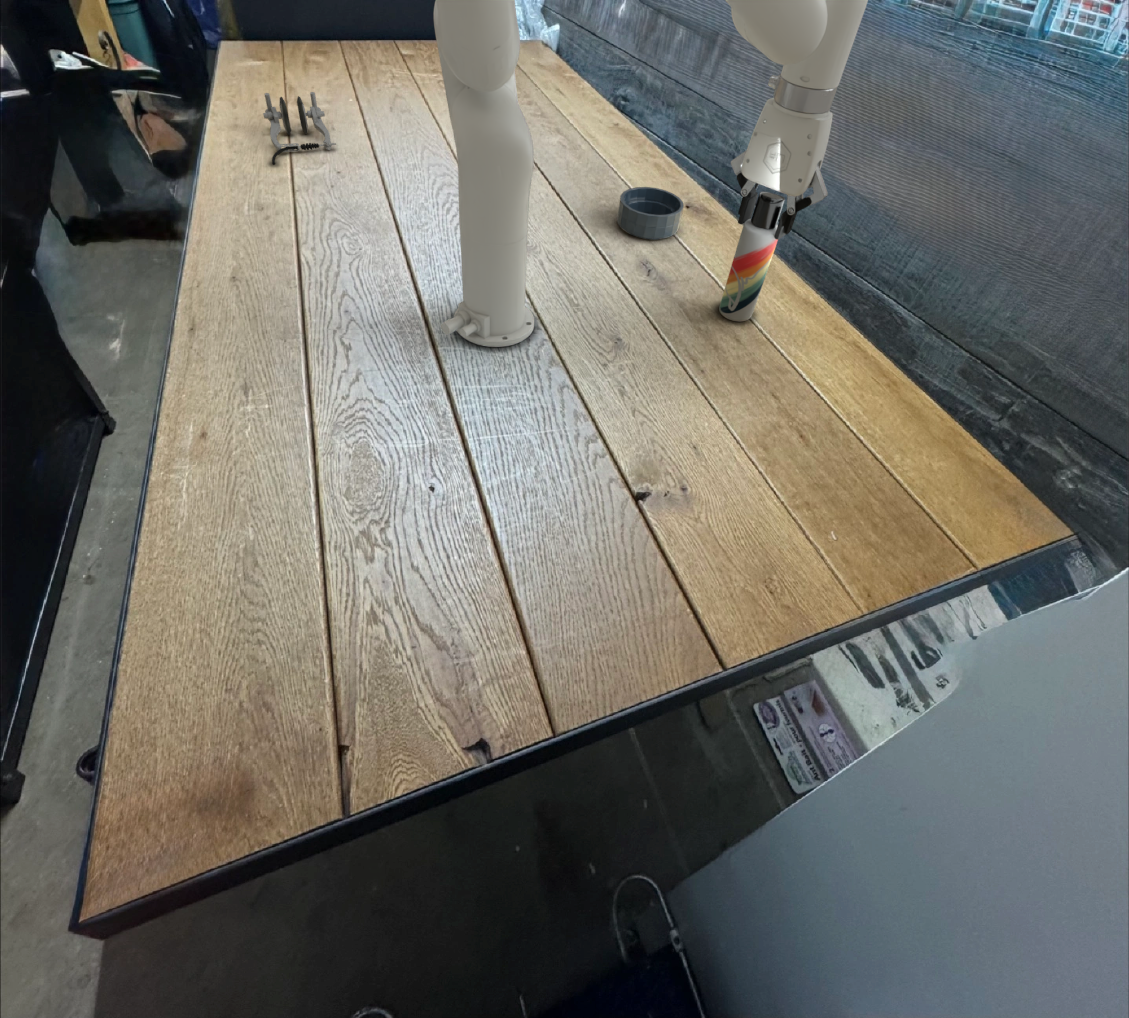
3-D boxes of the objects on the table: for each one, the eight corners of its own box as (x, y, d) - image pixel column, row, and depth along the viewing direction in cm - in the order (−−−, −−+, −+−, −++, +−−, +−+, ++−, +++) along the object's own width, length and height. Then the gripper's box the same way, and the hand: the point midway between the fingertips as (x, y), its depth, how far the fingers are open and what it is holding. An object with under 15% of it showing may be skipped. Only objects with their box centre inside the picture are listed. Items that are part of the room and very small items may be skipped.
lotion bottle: (714, 315, 110) (748, 195, 95) (724, 299, 114) (759, 181, 98) (746, 326, 109) (786, 206, 93) (755, 310, 112) (796, 192, 97)
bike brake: (261, 121, 144) (274, 174, 135) (254, 88, 138) (267, 141, 129) (325, 119, 148) (342, 170, 139) (321, 87, 142) (338, 138, 133)
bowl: (655, 248, 123) (660, 222, 120) (604, 225, 128) (607, 199, 124) (689, 227, 130) (695, 202, 126) (639, 206, 134) (644, 181, 131)
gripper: (734, 83, 87) (701, 216, 101) (853, 122, 81) (801, 258, 95) (760, 72, 91) (725, 201, 105) (876, 108, 85) (823, 241, 99)
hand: (762, 227), depth 100 cm, fingers closed on lotion bottle, 5 cm apart
